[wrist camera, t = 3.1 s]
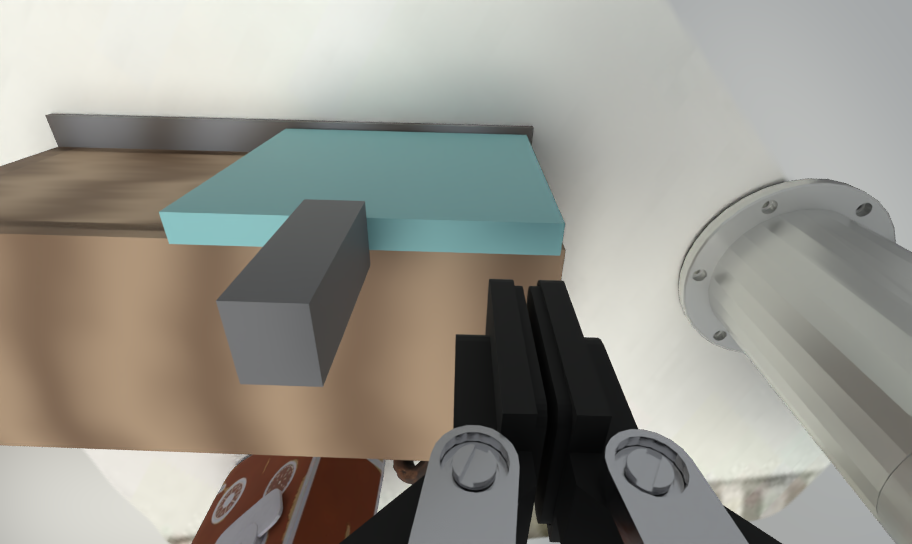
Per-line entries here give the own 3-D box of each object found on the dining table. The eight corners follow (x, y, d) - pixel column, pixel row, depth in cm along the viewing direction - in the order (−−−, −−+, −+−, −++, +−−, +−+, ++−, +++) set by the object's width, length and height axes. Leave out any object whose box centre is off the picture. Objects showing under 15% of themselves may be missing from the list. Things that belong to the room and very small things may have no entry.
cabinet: (532, 126, 26) (572, 204, 16) (513, 321, 33) (532, 464, 23) (50, 114, 27) (-217, 182, 16) (130, 309, 34) (-22, 444, 23)
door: (527, 123, 25) (619, 313, 10) (523, 166, 27) (599, 396, 11) (284, 117, 26) (-15, 293, 10) (290, 160, 27) (35, 376, 11)
